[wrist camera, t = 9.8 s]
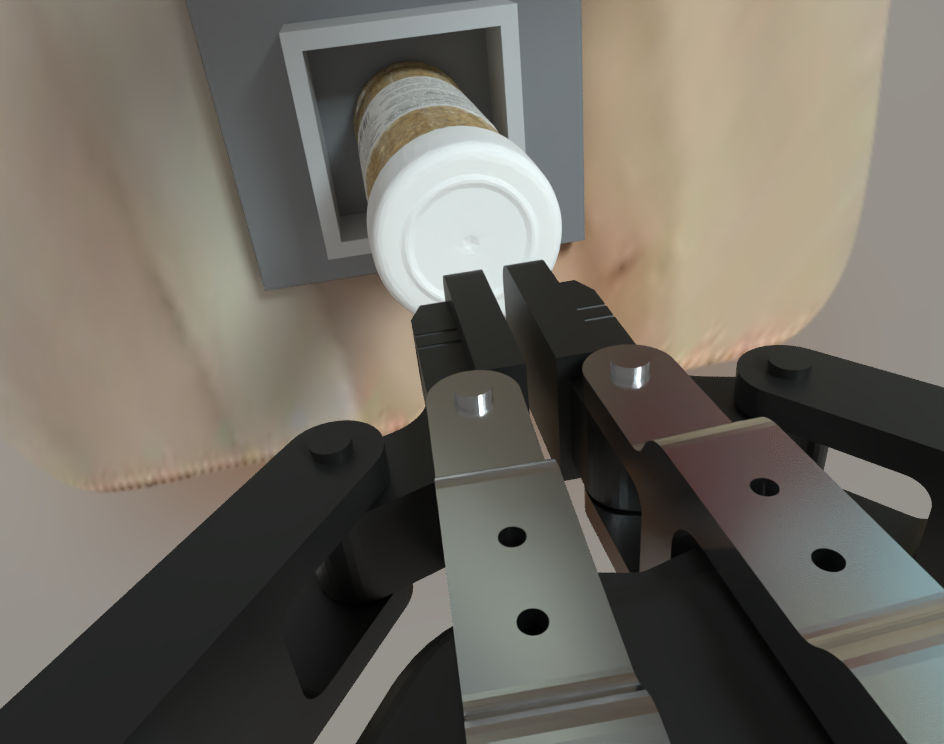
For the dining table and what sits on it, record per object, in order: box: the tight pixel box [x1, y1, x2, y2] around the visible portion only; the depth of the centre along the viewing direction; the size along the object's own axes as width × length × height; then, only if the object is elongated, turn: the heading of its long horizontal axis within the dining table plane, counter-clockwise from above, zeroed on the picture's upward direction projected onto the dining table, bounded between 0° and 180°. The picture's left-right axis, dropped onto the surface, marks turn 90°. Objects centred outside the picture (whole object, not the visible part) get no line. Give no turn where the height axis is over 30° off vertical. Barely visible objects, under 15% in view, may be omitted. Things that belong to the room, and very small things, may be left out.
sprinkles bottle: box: [353, 61, 562, 317], centre depth 22 cm, size 5×5×13 cm
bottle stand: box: [185, 0, 585, 291], centre depth 27 cm, size 12×14×4 cm
